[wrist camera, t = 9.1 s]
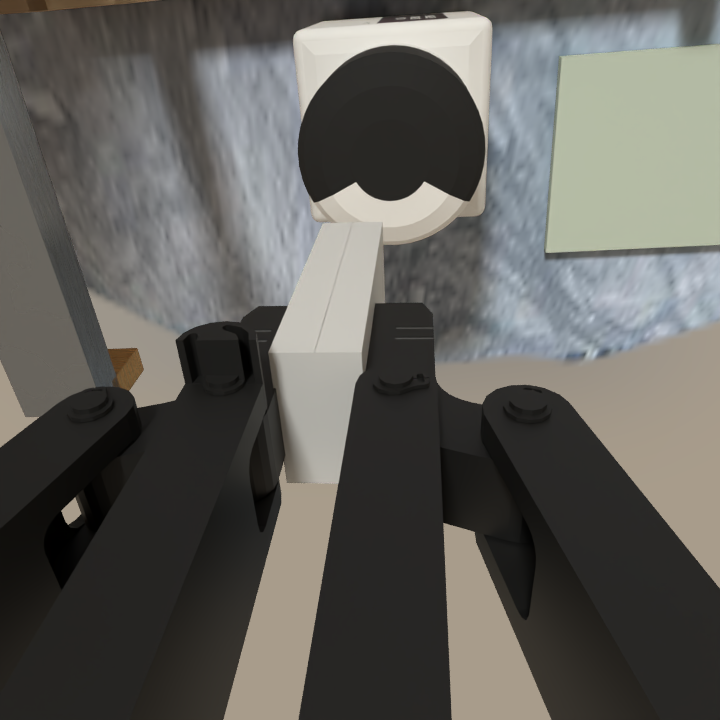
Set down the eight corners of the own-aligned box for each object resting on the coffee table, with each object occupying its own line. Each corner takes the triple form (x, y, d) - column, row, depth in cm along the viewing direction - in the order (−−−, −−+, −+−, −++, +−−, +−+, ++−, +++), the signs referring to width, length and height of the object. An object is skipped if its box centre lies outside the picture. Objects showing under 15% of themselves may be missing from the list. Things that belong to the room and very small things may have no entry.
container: (316, 21, 30) (261, 41, 19) (476, 9, 30) (514, 23, 18) (330, 179, 34) (291, 271, 23) (471, 172, 33) (500, 265, 22)
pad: (544, 249, 35) (546, 252, 35) (559, 56, 30) (561, 57, 30) (727, 240, 34) (732, 244, 34) (775, 39, 29) (781, 40, 29)
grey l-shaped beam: (168, 263, 35) (28, 422, 22) (84, -64, 27) (-207, -109, 14) (220, 261, 34) (108, 420, 22) (150, -71, 26) (-88, -124, 14)
